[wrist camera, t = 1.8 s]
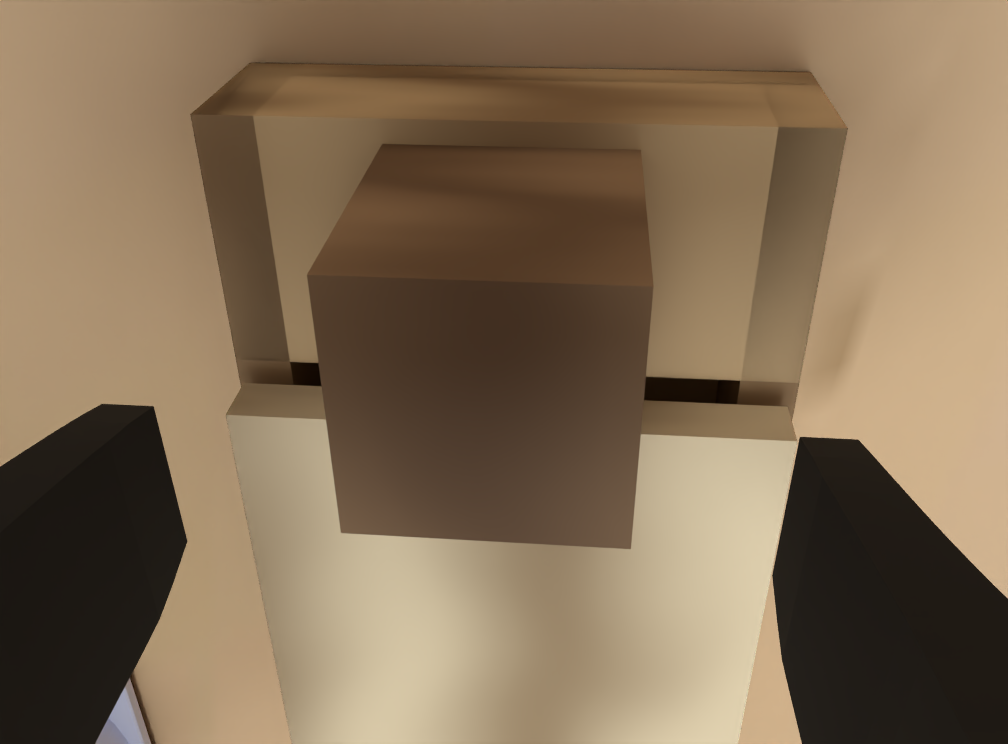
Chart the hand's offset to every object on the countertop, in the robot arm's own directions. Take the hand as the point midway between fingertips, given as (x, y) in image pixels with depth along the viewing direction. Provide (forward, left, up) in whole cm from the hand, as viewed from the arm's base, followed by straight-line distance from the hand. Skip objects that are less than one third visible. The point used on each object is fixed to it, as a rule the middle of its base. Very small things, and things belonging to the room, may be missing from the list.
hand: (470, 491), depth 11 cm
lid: (0, -10, -6) cm, 12 cm away
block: (0, 0, -6) cm, 6 cm away
